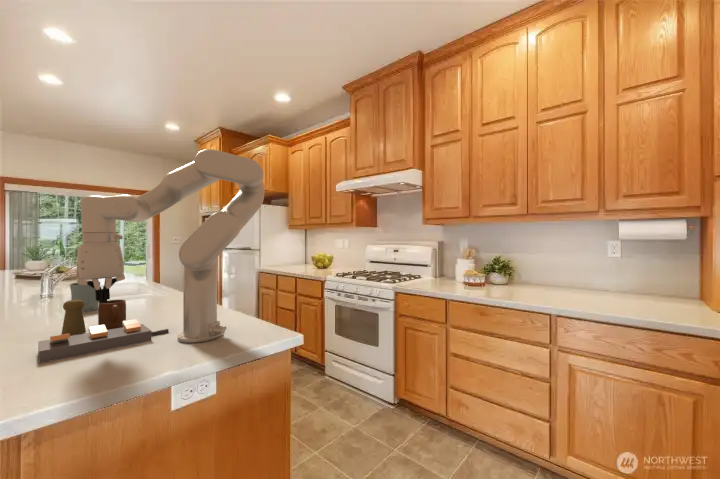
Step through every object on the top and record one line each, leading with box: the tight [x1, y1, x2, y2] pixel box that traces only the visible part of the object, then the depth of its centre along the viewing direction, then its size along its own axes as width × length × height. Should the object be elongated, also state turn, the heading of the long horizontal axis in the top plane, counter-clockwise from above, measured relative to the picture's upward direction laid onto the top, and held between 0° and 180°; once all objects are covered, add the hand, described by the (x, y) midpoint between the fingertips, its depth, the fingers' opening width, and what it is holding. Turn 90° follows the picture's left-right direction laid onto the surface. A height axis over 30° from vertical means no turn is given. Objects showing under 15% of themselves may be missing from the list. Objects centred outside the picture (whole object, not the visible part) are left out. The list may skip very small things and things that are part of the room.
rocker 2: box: [122, 318, 141, 333], centre depth 96 cm, size 4×6×2 cm, turn 47°
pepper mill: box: [60, 299, 87, 336], centre depth 103 cm, size 6×6×11 cm
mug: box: [97, 299, 127, 330], centre depth 107 cm, size 12×8×9 cm, turn 46°
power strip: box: [37, 323, 169, 364], centre depth 92 cm, size 30×11×3 cm, turn 137°
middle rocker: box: [88, 325, 108, 338], centre depth 90 cm, size 4×6×2 cm, turn 47°
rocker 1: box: [49, 334, 70, 343], centre depth 84 cm, size 4×6×2 cm, turn 47°
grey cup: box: [69, 281, 101, 313], centre depth 136 cm, size 10×10×12 cm
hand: (103, 302), depth 89 cm, fingers closed
